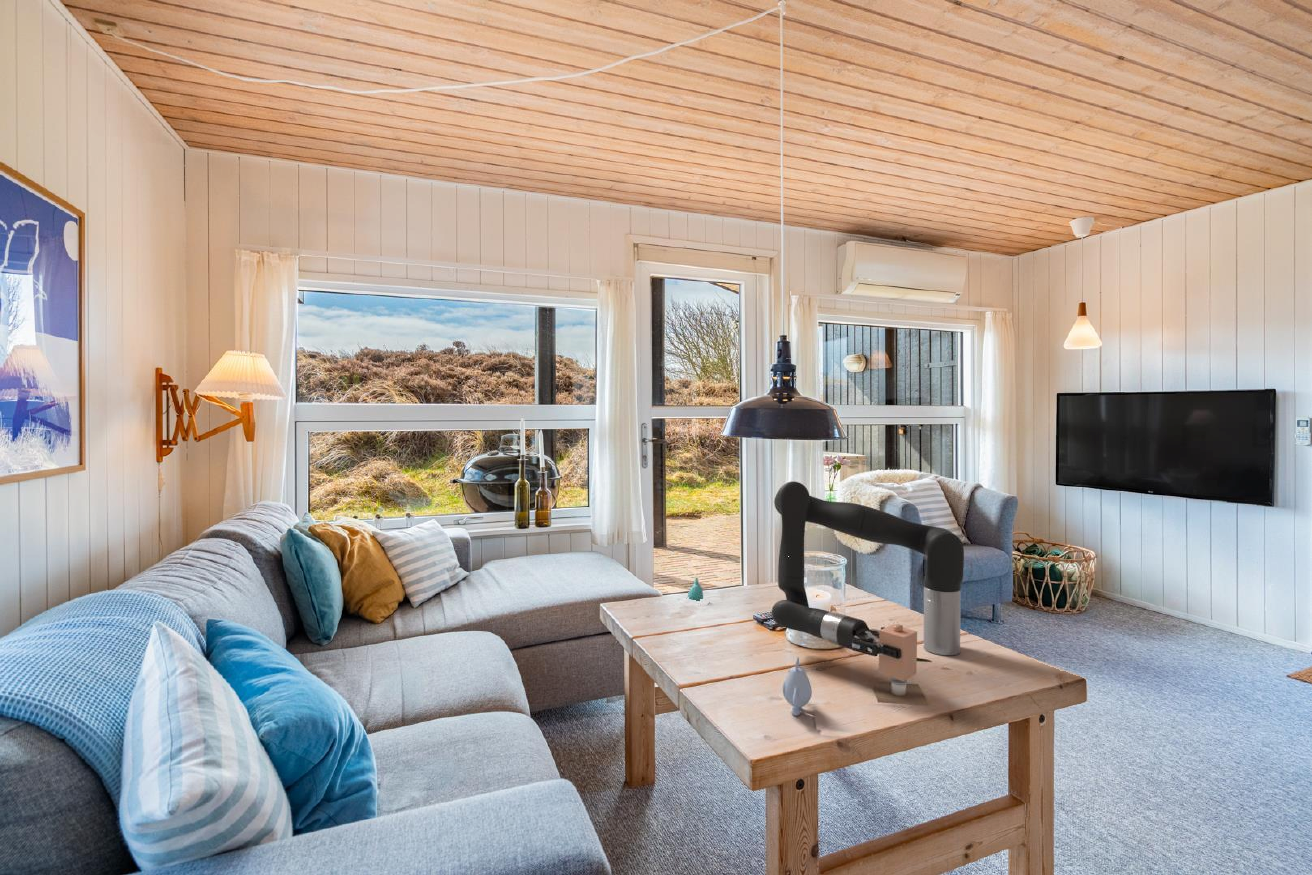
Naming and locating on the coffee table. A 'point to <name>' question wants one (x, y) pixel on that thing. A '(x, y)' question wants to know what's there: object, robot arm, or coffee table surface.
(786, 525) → the robot arm
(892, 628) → the cover
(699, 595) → the green christmas tree
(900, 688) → the ramekin
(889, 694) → the board
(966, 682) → the coffee table surface
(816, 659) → the coffee table surface
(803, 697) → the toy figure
